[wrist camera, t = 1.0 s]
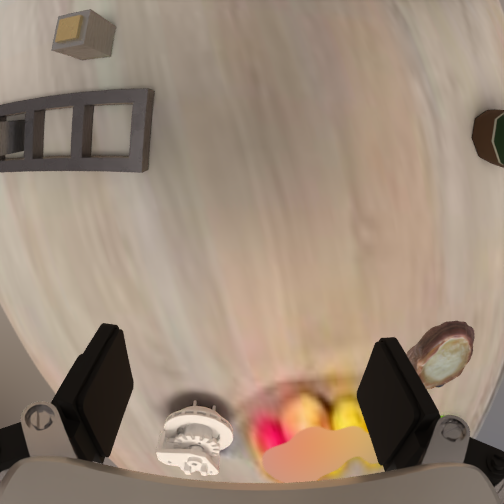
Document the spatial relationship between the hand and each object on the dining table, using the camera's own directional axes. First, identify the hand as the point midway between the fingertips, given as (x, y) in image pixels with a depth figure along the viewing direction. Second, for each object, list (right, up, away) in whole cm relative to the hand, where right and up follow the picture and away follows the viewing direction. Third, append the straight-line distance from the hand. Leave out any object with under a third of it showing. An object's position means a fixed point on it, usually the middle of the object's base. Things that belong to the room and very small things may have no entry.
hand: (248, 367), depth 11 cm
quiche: (+32, -13, +35) cm, 50 cm away
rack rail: (-23, +19, +20) cm, 36 cm away
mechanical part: (-9, -23, +37) cm, 45 cm away
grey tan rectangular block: (-30, +19, +20) cm, 41 cm away
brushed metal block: (-18, +28, +16) cm, 37 cm away
